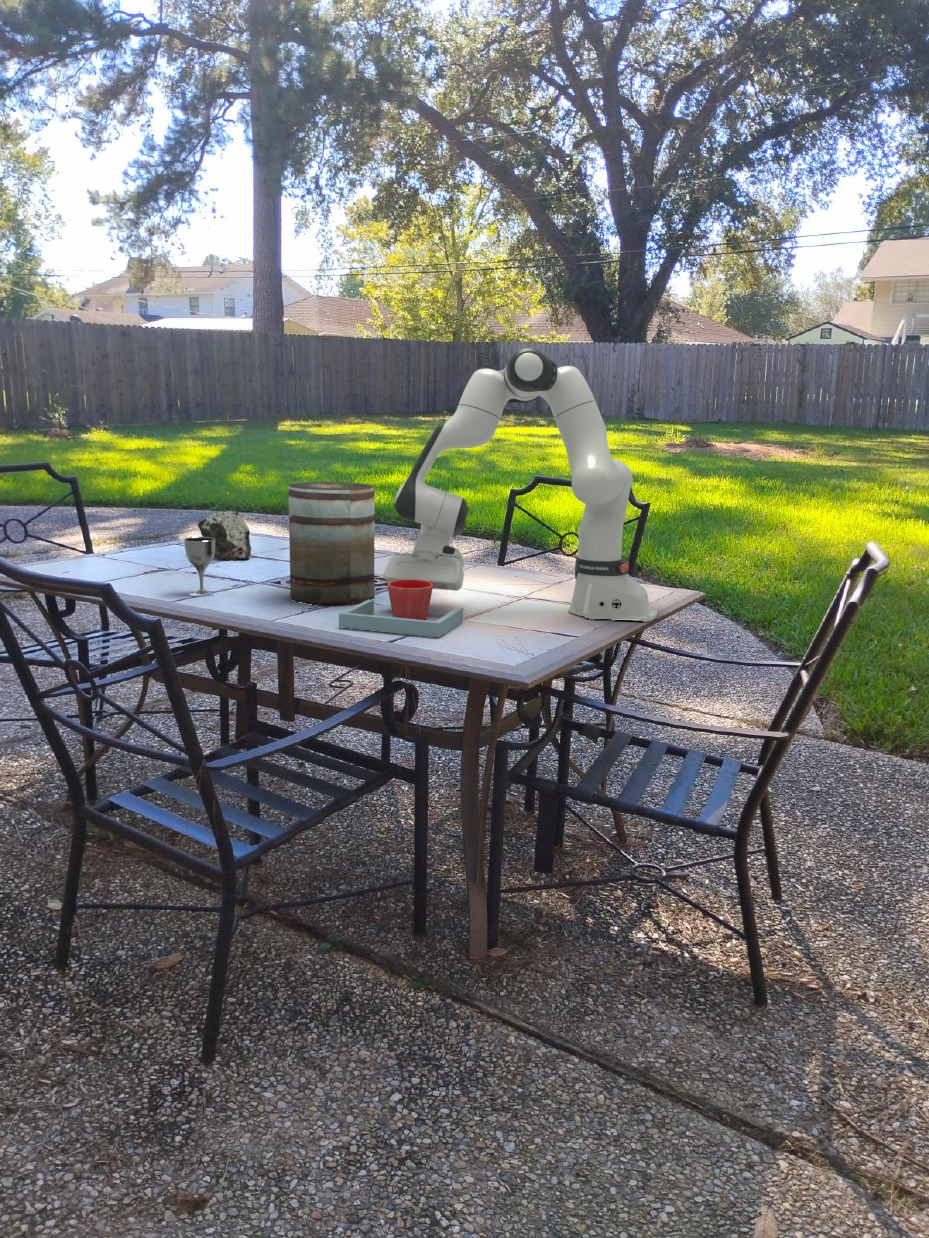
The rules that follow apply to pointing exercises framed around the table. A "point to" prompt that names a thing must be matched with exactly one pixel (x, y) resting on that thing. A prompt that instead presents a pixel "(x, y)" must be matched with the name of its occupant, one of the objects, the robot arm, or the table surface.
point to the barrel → (331, 543)
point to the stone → (227, 535)
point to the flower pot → (410, 598)
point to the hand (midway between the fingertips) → (416, 600)
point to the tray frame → (397, 621)
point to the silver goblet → (200, 555)
